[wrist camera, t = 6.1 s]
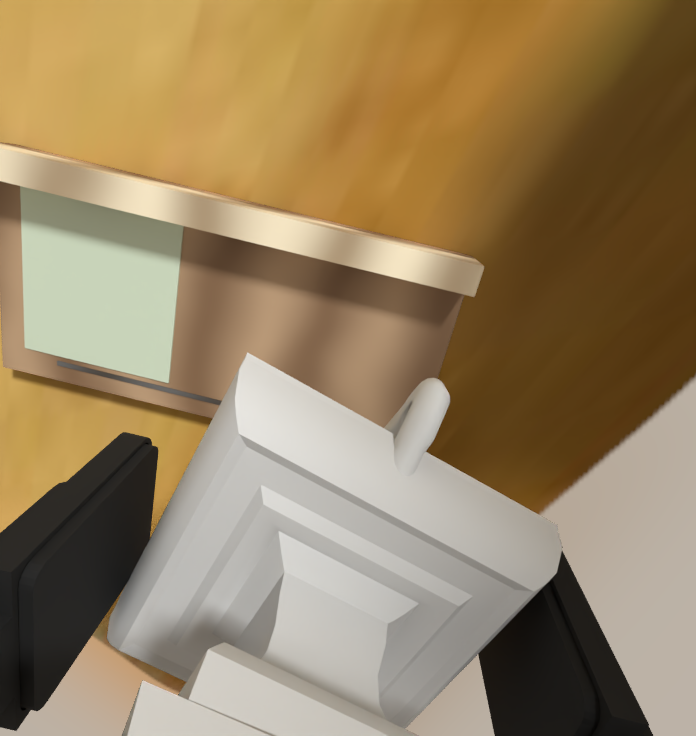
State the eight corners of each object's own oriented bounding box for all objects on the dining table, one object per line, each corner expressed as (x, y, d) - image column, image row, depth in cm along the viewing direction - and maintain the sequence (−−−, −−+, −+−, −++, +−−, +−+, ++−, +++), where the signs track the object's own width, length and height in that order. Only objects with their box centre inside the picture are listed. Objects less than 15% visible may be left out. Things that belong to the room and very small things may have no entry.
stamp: (299, 270, 10) (-24, 535, 2) (555, 417, 11) (1024, 1029, 3) (152, 555, 13) (-208, 1101, 5) (360, 656, 14) (322, 1275, 6)
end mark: (184, 222, 25) (183, 222, 25) (169, 382, 29) (168, 383, 29) (21, 182, 25) (20, 182, 25) (26, 347, 29) (24, 347, 29)
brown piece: (471, 255, 26) (484, 266, 22) (408, 454, 31) (410, 490, 27) (14, 144, 26) (-49, 136, 22) (20, 358, 31) (-31, 381, 27)
